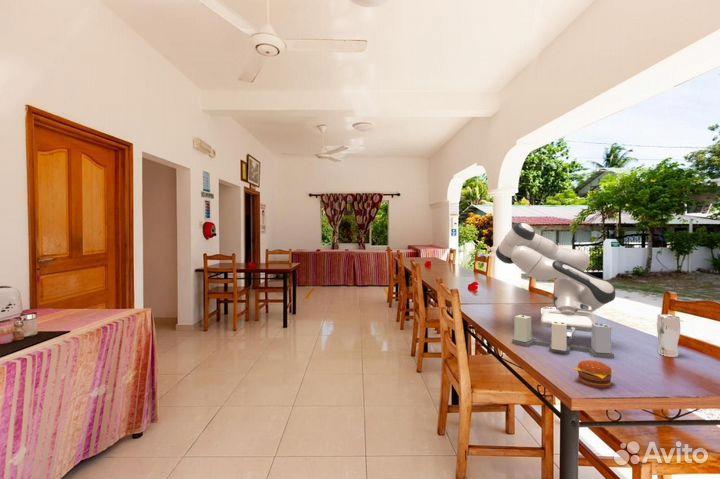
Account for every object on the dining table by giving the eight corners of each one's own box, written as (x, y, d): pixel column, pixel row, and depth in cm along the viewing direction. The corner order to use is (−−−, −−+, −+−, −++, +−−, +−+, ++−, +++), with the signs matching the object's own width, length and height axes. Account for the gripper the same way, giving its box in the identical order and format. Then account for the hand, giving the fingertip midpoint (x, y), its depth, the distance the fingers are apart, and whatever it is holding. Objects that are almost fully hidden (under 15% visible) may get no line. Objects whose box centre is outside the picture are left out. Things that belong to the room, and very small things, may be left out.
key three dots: (591, 348, 144) (591, 322, 144) (605, 349, 143) (606, 323, 143) (596, 352, 139) (596, 325, 139) (611, 353, 138) (611, 326, 138)
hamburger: (605, 391, 110) (605, 369, 110) (571, 381, 118) (571, 361, 118) (617, 383, 116) (617, 362, 116) (585, 374, 124) (585, 354, 123)
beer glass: (684, 358, 137) (685, 318, 137) (663, 357, 139) (663, 318, 138) (672, 352, 144) (673, 314, 144) (652, 351, 145) (653, 313, 145)
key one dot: (519, 337, 160) (519, 314, 160) (531, 339, 156) (531, 316, 156) (514, 339, 157) (514, 315, 156) (525, 342, 153) (525, 317, 152)
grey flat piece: (515, 338, 165) (515, 334, 165) (612, 351, 145) (612, 348, 145) (510, 345, 155) (510, 341, 155) (614, 360, 135) (614, 356, 135)
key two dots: (552, 345, 148) (552, 320, 148) (566, 347, 146) (566, 321, 145) (551, 348, 144) (551, 323, 144) (566, 350, 141) (566, 324, 141)
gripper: (540, 302, 159) (539, 330, 151) (596, 307, 149) (597, 337, 141) (541, 310, 163) (539, 337, 155) (595, 315, 153) (596, 345, 145)
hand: (567, 337), depth 148 cm, fingers closed
